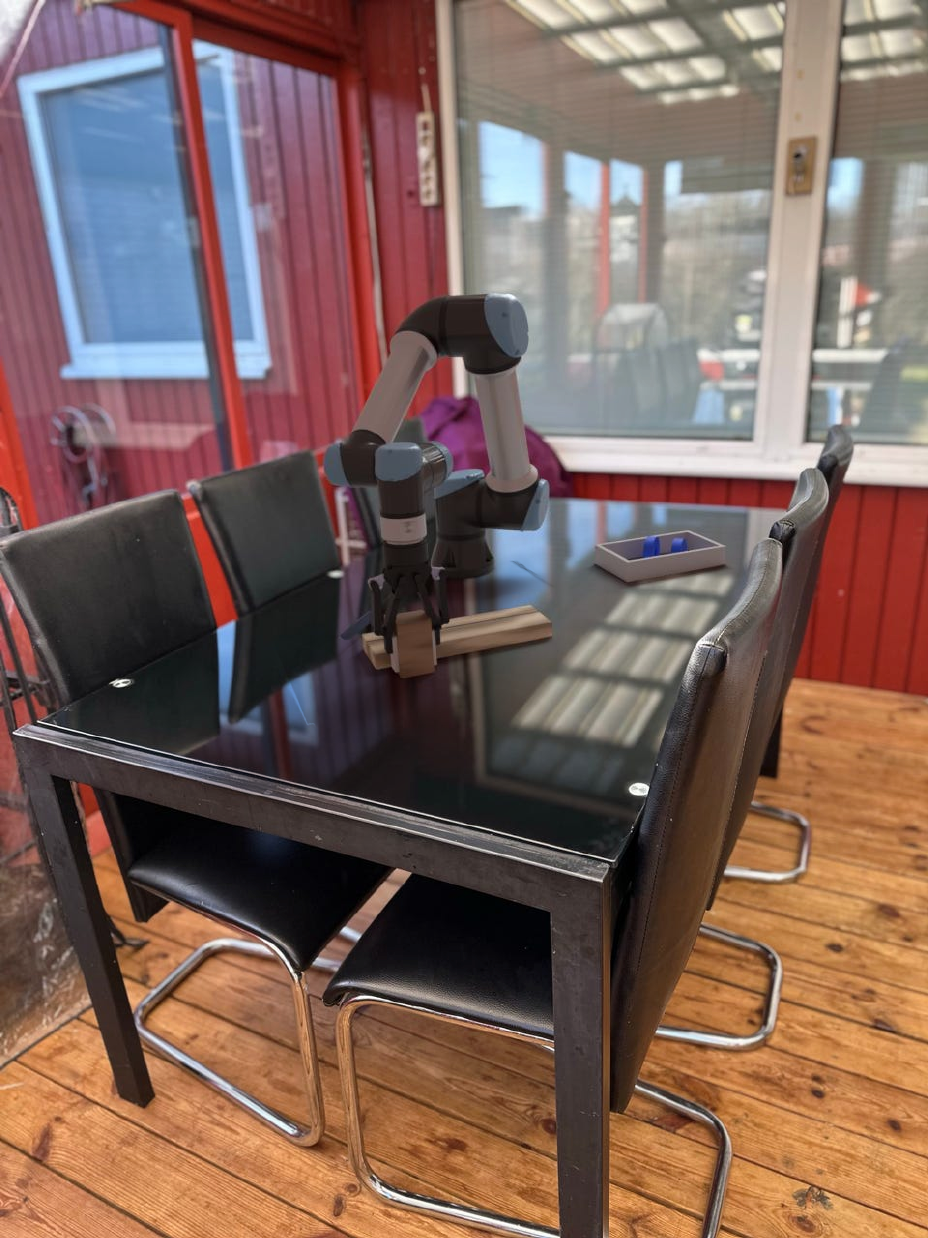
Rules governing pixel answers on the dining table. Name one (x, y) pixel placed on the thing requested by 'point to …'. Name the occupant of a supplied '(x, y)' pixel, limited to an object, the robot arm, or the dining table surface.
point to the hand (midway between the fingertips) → (414, 665)
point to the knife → (363, 621)
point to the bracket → (653, 546)
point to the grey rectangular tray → (697, 557)
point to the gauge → (414, 643)
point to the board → (474, 633)
